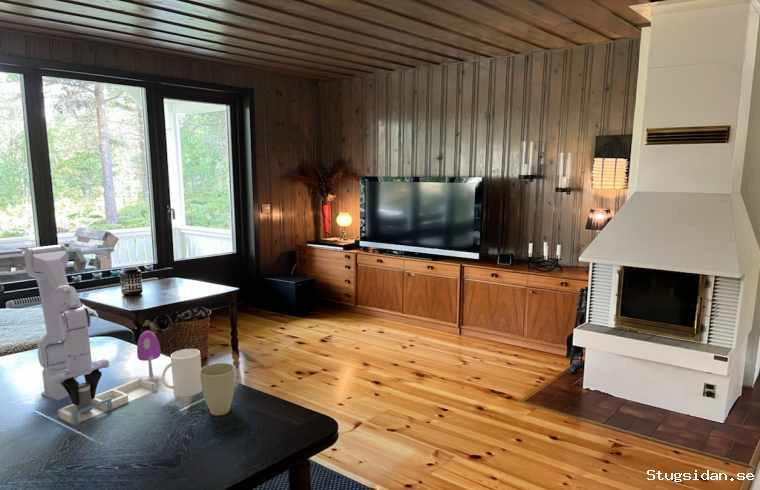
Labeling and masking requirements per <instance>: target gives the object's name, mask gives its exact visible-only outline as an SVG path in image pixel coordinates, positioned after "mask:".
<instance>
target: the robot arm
mask: <svg viewBox="0 0 760 490" xmlns="http://www.w3.org/2000/svg"><path fill="white" fill-rule="evenodd" d="M23 252H24V253H23V254H24V255H23V257H24V264H25V268H26V269H25V270H26V274H27V275H28V277H30V278H33V279H35V280H36V282H37V283H36V284H37V287H38V291H39V296H40V297H39V299H40V303H41V308H42V314H43V319H44V324H45V329H46V334H45V335H43V337H41V339H40V340H38V343H37V356H38V362H39V364H40V366H41V367H42V368H43V369H42V380H43V388H44V389H43V390H44V391H42V392H41V393H40V394H41V395H42V396H45V397H49V398H51V399H53V400H55V401H56V400H57V401H59V400H62V399H65V398H66V397H69V398H70V400H71V403H72V404H74V405H79V396H78V386H79V384H80V382H79V381H78V377H79V378H80V376H84V381H85V383H90V390H91V399H94V398H95V395H96V392H97V387H98V384H99V381H100V379H101V377H102V376H103V374H102V371H100V370H102V369H107V368H110V362H109V359H106V358H104V359H100V360H95V361H92V354H91V345H90V335H89V328H90V326H91V322H92V321H91V315H90V311H89V308H88V307H87V306H86V305H85V304H84V303H82V302H81V300H80V297H79V295H78V292H77V290H76V288H75V287H73V286H72V285H69V282H68V281H69V280H68V278H67V274H66V271H65V270H66V268H67V266H68V263H69V251H68V249H67V246H66V245H65V244H64V243H59V244H54V245H53V244H52V245H46V246H35V247H26V248H25V249H24V251H23Z"/></svg>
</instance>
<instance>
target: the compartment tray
mask: <svg viewBox="0 0 760 490" xmlns="http://www.w3.org/2000/svg"><path fill="white" fill-rule="evenodd" d="M156 391H158V385H157V382H153V381H151V380H147V379H145V378H142V377H139V378H137V379H134V380H131V381H130V382H129V381H128V382H126V383H124V384H121V385H118V386H116V387H113V388H111V389H108V390H106V391H103V392H101V393H97V394H95V398H94V399H92V405H90V406H88V407H85V408H83V409H80V410H78V411H77V405H74V404H69V405H66V406H63V407H61V408H59V409H57V410H56V411H57V417H58V418H59V419H61V420H64V421H66V422H68V423H69V424H72V425H73V426H76V425H77V426H78V425H79V424H80V423H82V422H83V421H86V420H89V419H91V418H94V417H96V416H99V415H100V414H101V415H102V414H104V413H106V412H111V411H113V409H115V408H118V407H120V406H122V405H125V404H128V403H129V402H131V401H135V400H138V399H139V398H142V397H144V396H146V395H149V394H151V393H154V392H156ZM92 408H93V409H92ZM89 409H92V410H91V411H89V412H86V413H82V412H84V411H87V410H89Z"/></svg>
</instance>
